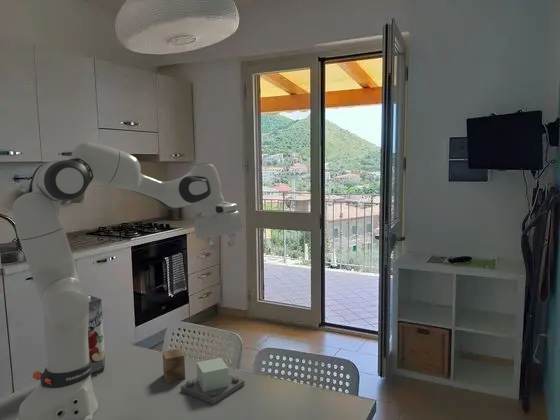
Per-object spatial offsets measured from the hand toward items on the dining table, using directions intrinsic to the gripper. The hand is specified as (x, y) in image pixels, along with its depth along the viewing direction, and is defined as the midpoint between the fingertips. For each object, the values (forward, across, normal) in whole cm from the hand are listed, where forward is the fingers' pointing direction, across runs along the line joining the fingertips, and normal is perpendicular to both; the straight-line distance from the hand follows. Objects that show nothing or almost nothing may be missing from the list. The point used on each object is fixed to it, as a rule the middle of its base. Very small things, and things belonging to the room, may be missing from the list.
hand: (222, 248), depth 154 cm
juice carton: (+32, -41, -36) cm, 63 cm away
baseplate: (+41, +2, -20) cm, 45 cm away
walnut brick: (+38, -14, -21) cm, 45 cm away
